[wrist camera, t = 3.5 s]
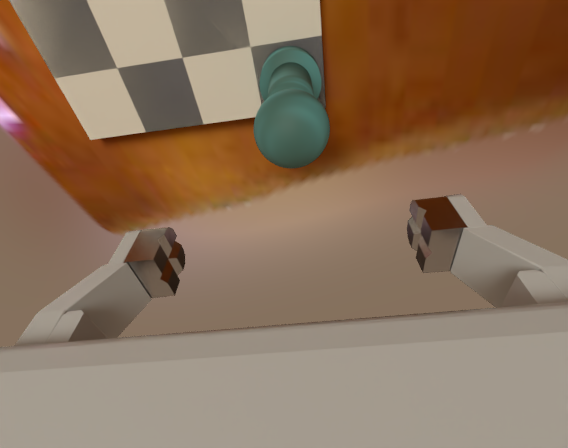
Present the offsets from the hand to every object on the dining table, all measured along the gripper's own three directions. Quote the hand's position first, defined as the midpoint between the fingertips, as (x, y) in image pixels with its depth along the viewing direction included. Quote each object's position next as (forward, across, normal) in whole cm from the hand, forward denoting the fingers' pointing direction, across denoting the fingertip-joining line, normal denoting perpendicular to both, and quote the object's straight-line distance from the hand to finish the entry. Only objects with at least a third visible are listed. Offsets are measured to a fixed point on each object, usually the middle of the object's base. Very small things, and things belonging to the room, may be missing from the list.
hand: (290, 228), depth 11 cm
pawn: (+17, 0, 0) cm, 17 cm away
